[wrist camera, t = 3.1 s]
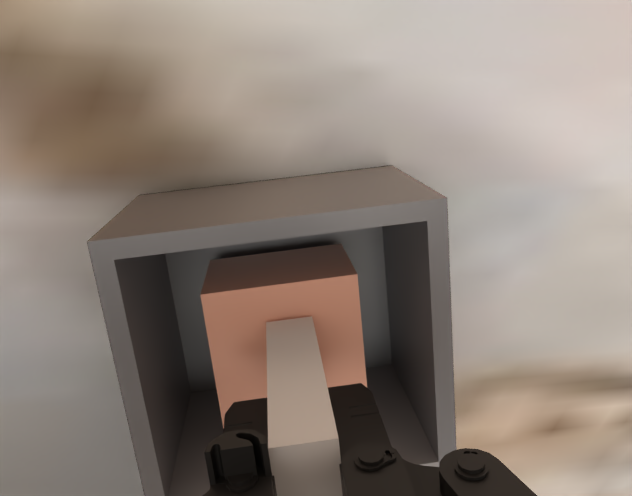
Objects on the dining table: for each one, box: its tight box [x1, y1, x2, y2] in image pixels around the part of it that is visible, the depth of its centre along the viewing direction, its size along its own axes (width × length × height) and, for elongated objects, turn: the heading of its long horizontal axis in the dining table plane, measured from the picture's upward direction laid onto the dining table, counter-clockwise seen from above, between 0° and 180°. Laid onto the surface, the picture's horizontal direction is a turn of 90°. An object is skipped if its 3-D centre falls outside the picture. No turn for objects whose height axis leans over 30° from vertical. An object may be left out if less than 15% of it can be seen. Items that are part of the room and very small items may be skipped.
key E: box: [200, 244, 367, 428], centre depth 20 cm, size 5×5×4 cm
